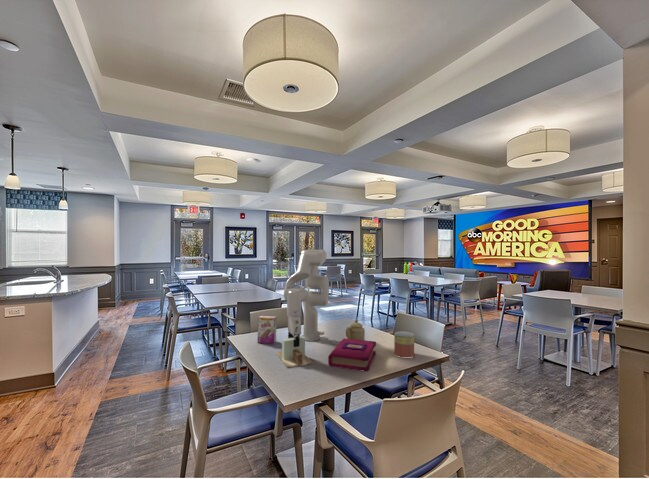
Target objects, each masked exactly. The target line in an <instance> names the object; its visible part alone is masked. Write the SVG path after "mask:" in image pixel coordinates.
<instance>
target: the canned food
mask: <svg viewBox="0 0 649 479" xmlns="http://www.w3.org/2000/svg"><path fill="white" fill-rule="evenodd" d="M393 334H394V338H393V339H394V340H393V342H394V350H393V352H394V353H393V354H395V355H397V356H400V357H412V356H414V357H415V334H414V333H412V332H410V331H405V330H402V331H395V332H394V333H393ZM395 355H394V356H395ZM397 356H396V357H397ZM400 357H399V358H400Z"/></svg>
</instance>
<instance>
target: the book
mask: <svg viewBox="0 0 649 479" xmlns="http://www.w3.org/2000/svg"><path fill="white" fill-rule="evenodd" d="M376 345H377V342H376V341H373V340H364V341H363V340H354V339H348V338H343V339H342V340H341V341H340V342H339V343H337V345H336V347H334V349H333V350H332V351H331V352H330V354H329V355H328V357H327V359H328V360H327V362H328V366H329V367H334V368H339V367H340V368H341V369H346V368H348V370H353V369H357V370H356V371H360V370H364V371H363V372H369V371H370V369H369V368H370V367H371V365H372V363H373V361H374V358H375V356H376V353H377V352H376V350H374V348H375V347H376ZM372 360H373V361H372ZM368 370H369V371H368Z"/></svg>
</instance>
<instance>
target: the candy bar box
mask: <svg viewBox="0 0 649 479" xmlns="http://www.w3.org/2000/svg"><path fill="white" fill-rule="evenodd" d="M259 343H260V344H276V343H277V316H270V315H268V316H267V315H260V316H258V317H257V344H259Z"/></svg>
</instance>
